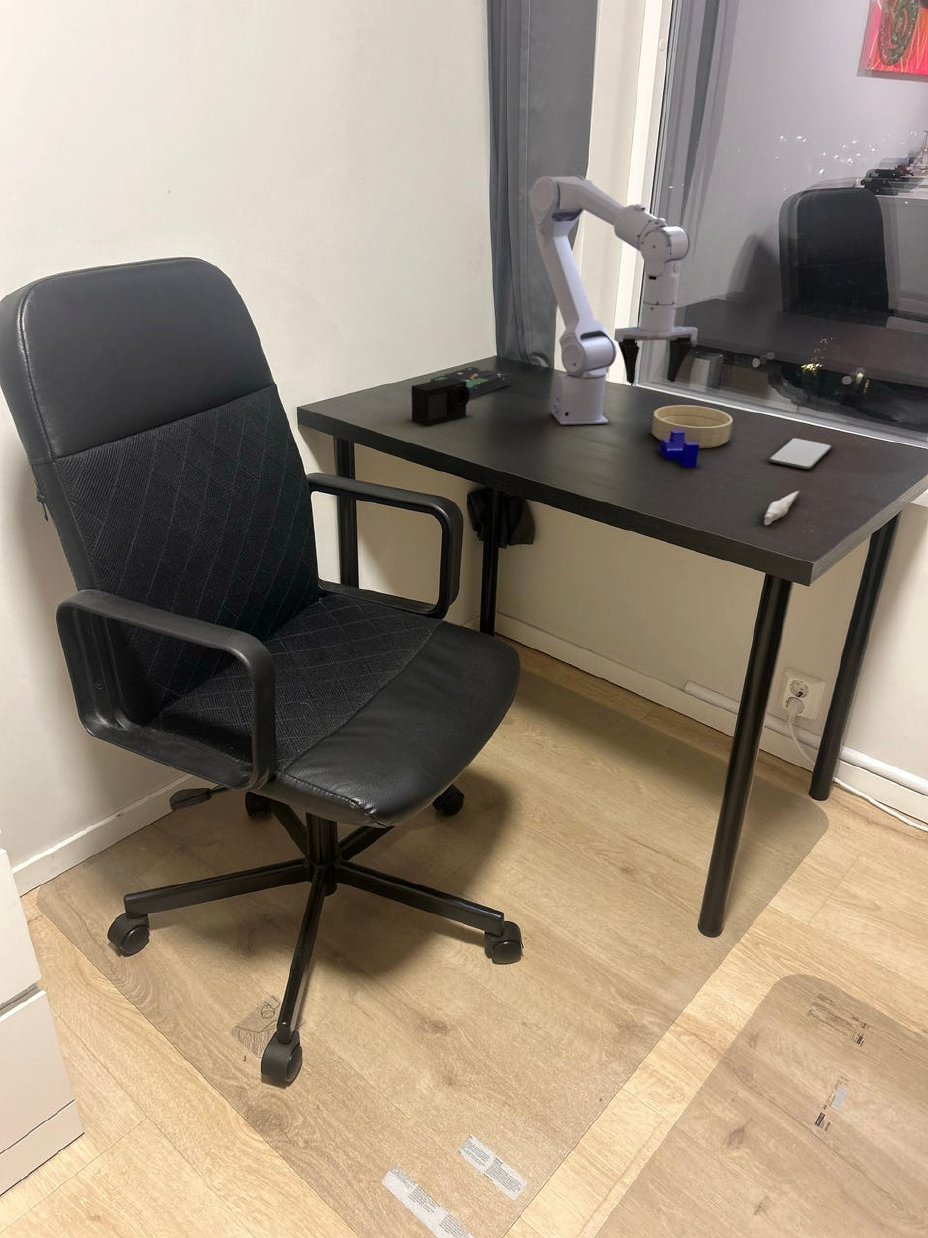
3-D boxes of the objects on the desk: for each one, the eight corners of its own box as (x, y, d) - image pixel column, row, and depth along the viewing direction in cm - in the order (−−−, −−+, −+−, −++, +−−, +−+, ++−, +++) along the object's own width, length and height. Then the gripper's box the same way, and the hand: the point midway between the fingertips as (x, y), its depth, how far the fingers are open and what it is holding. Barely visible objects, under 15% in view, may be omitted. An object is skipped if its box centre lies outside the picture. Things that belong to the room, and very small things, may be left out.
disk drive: (469, 378, 199) (429, 391, 188) (470, 366, 197) (429, 378, 187) (507, 386, 194) (468, 399, 183) (508, 373, 192) (469, 386, 182)
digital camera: (429, 428, 166) (429, 391, 163) (411, 421, 170) (411, 385, 166) (470, 418, 172) (471, 382, 169) (452, 411, 176) (452, 376, 172)
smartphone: (832, 444, 159) (809, 467, 149) (831, 447, 160) (808, 470, 149) (793, 437, 163) (768, 458, 152) (793, 440, 163) (768, 461, 152)
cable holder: (659, 452, 156) (662, 430, 154) (678, 451, 156) (681, 429, 155) (676, 467, 149) (679, 445, 147) (695, 467, 150) (699, 444, 148)
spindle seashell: (773, 528, 127) (776, 516, 126) (755, 524, 129) (758, 512, 128) (806, 498, 138) (808, 487, 137) (789, 494, 139) (791, 483, 138)
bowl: (666, 450, 157) (669, 428, 155) (641, 426, 169) (643, 406, 167) (741, 448, 159) (745, 426, 157) (711, 424, 171) (714, 404, 169)
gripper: (626, 306, 147) (618, 388, 154) (708, 305, 149) (697, 385, 156) (613, 300, 153) (606, 378, 160) (692, 298, 155) (682, 376, 162)
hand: (650, 381), depth 158 cm, fingers open, 7 cm apart
